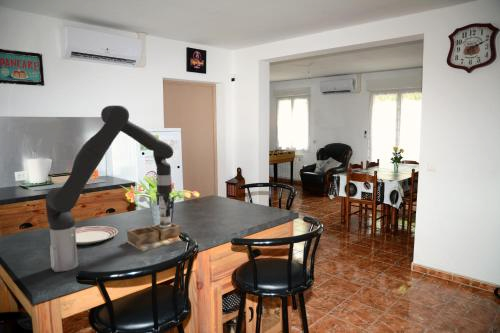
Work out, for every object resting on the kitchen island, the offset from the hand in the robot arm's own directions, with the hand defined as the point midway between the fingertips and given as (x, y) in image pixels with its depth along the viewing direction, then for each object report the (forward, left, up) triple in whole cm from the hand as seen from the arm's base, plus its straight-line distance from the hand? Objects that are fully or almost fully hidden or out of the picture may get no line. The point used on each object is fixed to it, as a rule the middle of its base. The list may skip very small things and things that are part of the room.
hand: (165, 215), depth 185 cm
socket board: (-6, -2, -12) cm, 14 cm away
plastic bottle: (0, 0, -10) cm, 10 cm away
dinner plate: (-30, +25, -12) cm, 41 cm away
